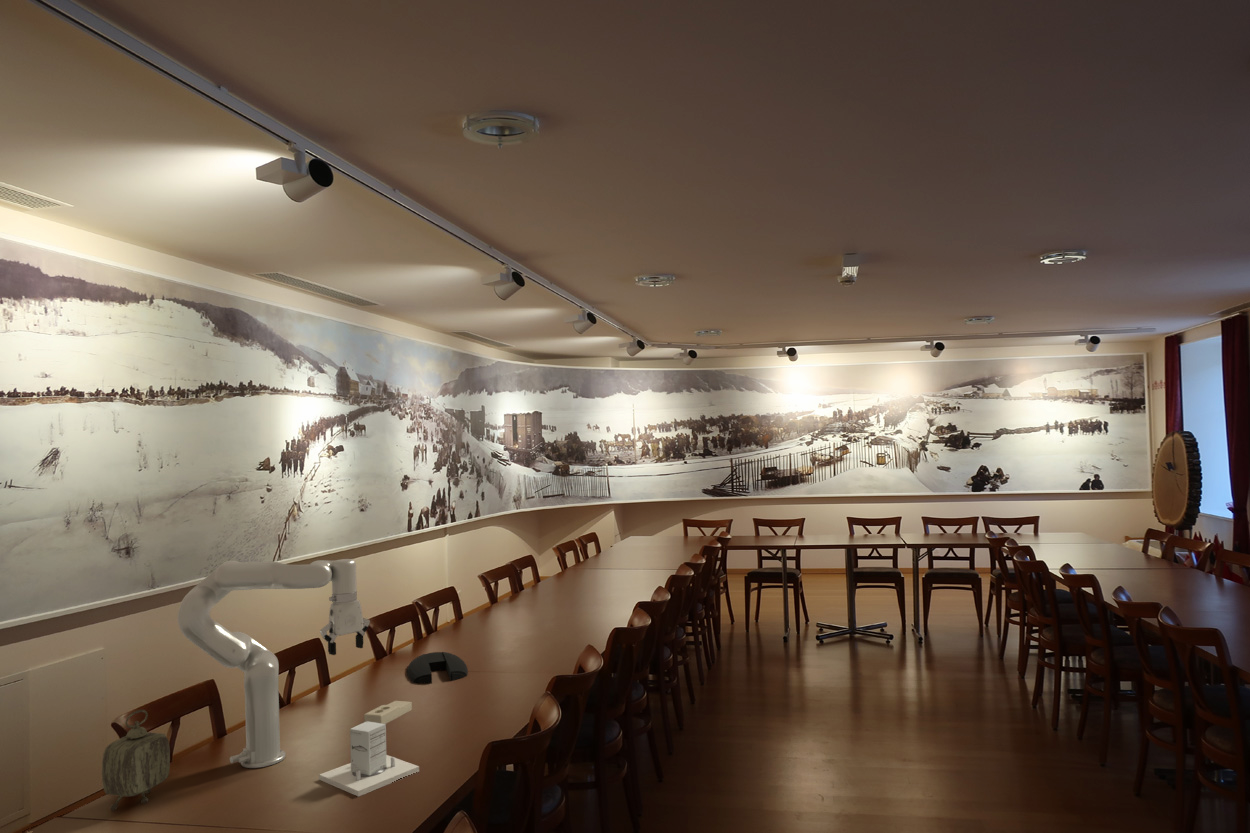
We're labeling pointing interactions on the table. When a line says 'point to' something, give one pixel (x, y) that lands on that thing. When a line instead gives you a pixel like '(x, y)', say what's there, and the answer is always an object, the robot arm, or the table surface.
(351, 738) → the supplement box
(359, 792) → the locating plate
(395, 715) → the electrical outlet
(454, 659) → the docking station
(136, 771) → the tabletop clock
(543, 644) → the table surface
